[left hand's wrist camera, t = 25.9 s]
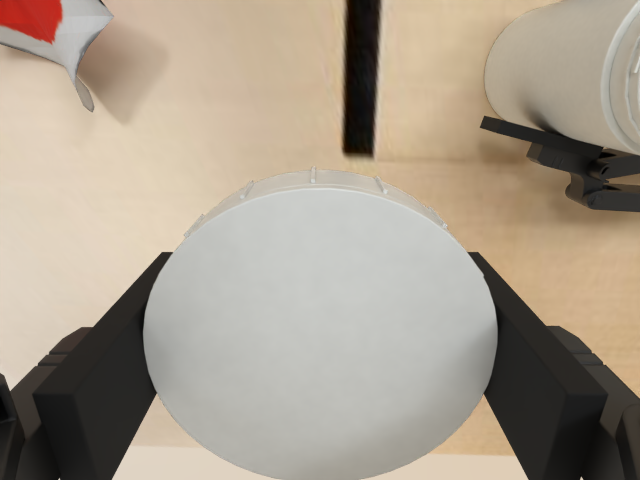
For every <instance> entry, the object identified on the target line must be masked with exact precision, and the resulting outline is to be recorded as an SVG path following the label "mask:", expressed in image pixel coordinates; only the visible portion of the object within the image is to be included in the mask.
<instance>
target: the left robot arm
mask: <svg viewBox="0 0 640 480" xmlns="http://www.w3.org/2000/svg"><path fill="white" fill-rule="evenodd" d="M467 253H468V254H469V255H470V257H471V258H472V260H473V261H474V262H475V264H476V265H477V267H478V268H479V269H480V270H481V272H482V273H483V275H484V276H483V278H484V280H485V282H486V284H487V286H488V287H489V291H490V294H491V297H492V300H493V303H494V306H495V312H496V319H497V326H498V342H497V349H496V354H495V360H494V365H493V370H492V374H491V377H490V380H489V383H488V386H487V388H486V390H485V392H484V395H485V397H486V399H487V401H488V403H489V405H490V407H491V409H492V411H493V412H494V414H495V416H496V418H497V420H498V422H499V424H500V426H501V428H502V430H503V432H504V433H505V435H506V437H507V439H508V441H509V443H510V445H511V447H512V449H513V451H514V453H515V455H516V456H517V458H518V460H519V462H520V464H521V466H522V468H523V470H524V472H525V474H526V476H527V478H528V479H529V480H580V478H581V477H582V478H583V480H640V399H639V398H638V397H637V396H636V395H635V394H634V393H633V392H632V391H631V390H630V389H629V388H628V387H627V386H626V385H625V384H624V383H623V382H622V381H621V380H620V379H619V378H618V377H617V376H616V375H615V374H614V373H613V372H612V371H611V370H610V369H609V368H608V367H607V366H606V365H603V362H602V361H601V360H600V359H599V358H598V357H597V356H596V355H595V354H594V353H592V352H591V350H590V349H589V348H588V347H587V346H586V345H585V344H584V343H583V342H582V341H581V340H580V339H579V338H578V337H577V336H575V335H573V334H572V333H570V332H568V331H567V330H565V329H563V328H561V327H560V326H546V325H545V324H544V323H543V322H542V321H541V320H540V319H539V318H538V317H537V316H536V314H535V313H534V312H533V311H532V310H531V309H530V308H529V307H528V306H527V305H526V304H525V303H524V301H523V300H522V299H521V298H520V297H519V296H518V295H517V294H516V293H515V292H514V291H513V289H512V288H511V287H510V286H509V285H508V284H507V283H506V282H505V281H504V280H503V279H502V278H501V276H500V275H499V274H498V273H497V272H496V271H495V270H494V269H493V268H492V267H491V266H490V264H489V263H488V262H487V261H486V260H485V259H484V258H483V257H482V256H481V255H480V254H479V253H478V252H467ZM172 254H173V252H162V253H161V254H160V255H159V256H158V257H157V258H156V259H155V260H154V262H153V263H152V264H151V265H150V266H149V267H148V268H147V269H146V270H145V271H144V272H143V273H142V275H141V276H140V277H139V278H138V279H137V280H136V281H135V282H134V283H133V284H132V285H131V287H130V288H129V289H128V290H127V291H126V292H125V293H124V294H123V295H122V296H121V297H120V298H119V300H118V301H117V302H116V303H115V304H114V305H113V306H112V307H111V308H110V309H109V310H108V312H107V313H106V314H105V315H104V316H103V317H102V318H101V319H100V320H99V321H98V322H97V323H96V325H95V326H94V327H81V328H80V329H78V330H76V331H75V332H73V333H71V334H70V335H68V336H66V337H65V338H63V339H62V340H61V341H60V342H59V343H58V344H57V345H56V346H55V347H54V348H53V349H52V350H51V351H50V352H49V355H46V356H45V357H44V358H43V359H42V360H41V361H40V362H39V363H38V366H35V367H34V368H33V369H32V370H31V371H30V372H29V373H28V374H27V375H26V376H25V377H24V378H23V379H22V380H21V381H20V382H19V383H18V384H17V385H16V386H15V387H14V388H13V389H12V390H11V391H10V390H9V388H8V385H7V382H6V379H5V377H4V375H2V374H1V373H0V480H58V479H59V478H60V480H112V478H113V476H114V474H115V472H116V470H117V468H118V467H119V465H120V463H121V461H122V459H123V457H124V455H125V453H126V451H127V449H128V447H129V445H130V444H131V442H132V440H133V438H134V436H135V434H136V432H137V430H138V428H139V426H140V424H141V422H142V421H143V419H144V417H145V415H146V413H147V411H148V409H149V407H150V405H151V403H152V401H153V399H154V398H155V396H156V394H157V392H156V390H155V388H154V385H153V383H152V380H151V377H150V375H149V372H148V367H147V362H146V357H145V352H144V342H143V327H144V317H145V311H146V307H147V303H148V300H149V296H150V292H151V290H152V288H153V285H154V283H155V281H156V279H157V277H158V275H159V273H160V271H161V270H162V268H163V267H164V265H165V264H166V262H167V261H168V259H169V258H170V256H171V255H172Z"/></svg>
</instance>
